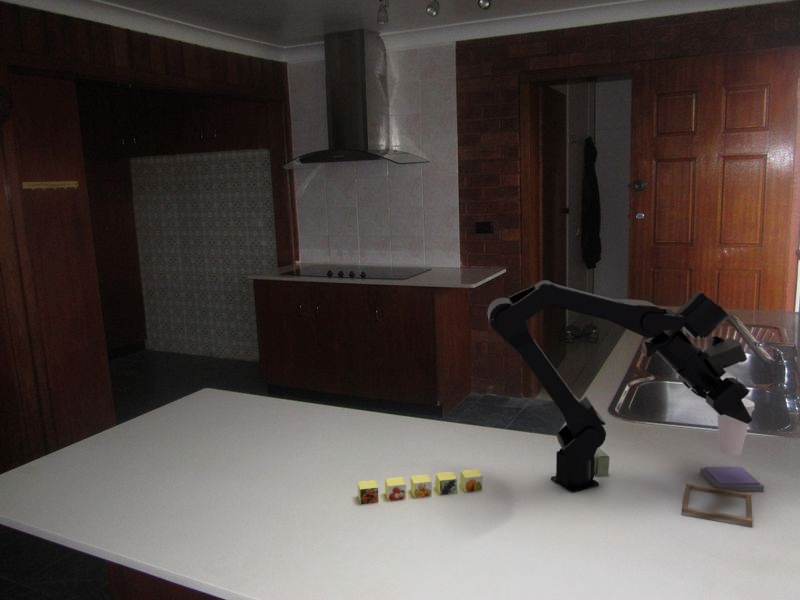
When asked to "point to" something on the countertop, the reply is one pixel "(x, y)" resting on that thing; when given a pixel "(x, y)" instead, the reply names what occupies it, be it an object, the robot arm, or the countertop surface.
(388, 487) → the fruit picture blocks
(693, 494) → the marked square
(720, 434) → the smoothie
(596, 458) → the medication box
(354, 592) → the countertop surface
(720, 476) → the ink pad
